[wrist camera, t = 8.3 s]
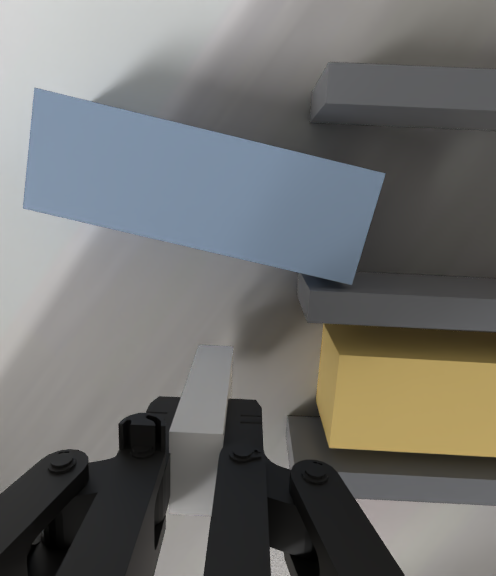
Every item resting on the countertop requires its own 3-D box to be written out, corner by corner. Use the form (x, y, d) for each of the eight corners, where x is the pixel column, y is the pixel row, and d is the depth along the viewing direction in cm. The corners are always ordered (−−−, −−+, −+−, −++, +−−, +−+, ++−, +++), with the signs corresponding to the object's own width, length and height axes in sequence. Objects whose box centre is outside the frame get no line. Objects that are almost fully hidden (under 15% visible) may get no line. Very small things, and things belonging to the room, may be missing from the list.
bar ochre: (315, 398, 20) (329, 448, 16) (322, 321, 19) (339, 355, 15) (557, 411, 20) (629, 464, 16) (576, 335, 19) (658, 372, 15)
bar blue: (72, 203, 18) (22, 208, 14) (84, 109, 17) (34, 87, 13) (331, 264, 19) (352, 285, 15) (357, 176, 18) (385, 173, 14)
